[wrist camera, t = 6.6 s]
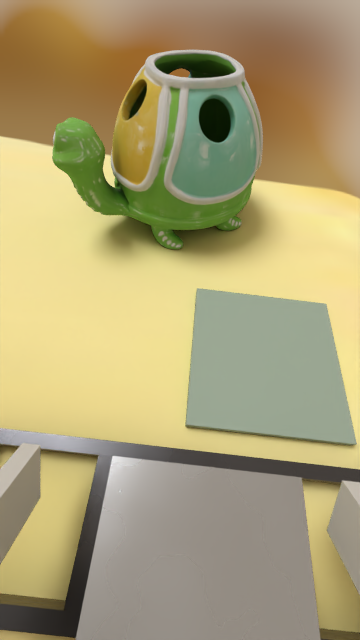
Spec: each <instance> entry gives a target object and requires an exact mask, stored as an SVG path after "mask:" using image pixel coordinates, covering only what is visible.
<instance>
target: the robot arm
mask: <svg viewBox="0 0 360 640" xmlns="http://www.w3.org/2000/svg"><path fill="white" fill-rule="evenodd" d="M39 499H40V445H36V444H27V443H22V444H21V445H20V447H19V448H18V449H17V450H16V451H15V452H14V454H13V455H12V456H11V457H10V458H9V459H8V461H7V462H6V463H5V464H4V465H3V466H2V467H1V469H0V564H1V562H2V561H3V559H4V557H5V556H6V554H7V552H8V551H9V549H10V547H11V546H12V544H13V542H14V541H15V539H16V537H17V536H18V534H19V532H20V531H21V529H22V527H23V526H24V524H25V522H26V521H27V519H28V517H29V516H30V514H31V512H32V510H33V509H34V507H35V505H36V504H37V502H38V500H39ZM327 532H328V534H329V536H330V538H331V540H332V542H333V544H334V546H335V548H336V550H337V551H338V553H339V555H340V557H341V559H342V561H343V563H344V565H345V567H346V569H347V571H348V573H349V575H350V577H351V579H352V581H353V583H354V585H355V587H356V589H357V591H358V593H359V595H360V482H352V481H343V480H342V483H341V486H340V489H339V493H338V496H337V499H336V502H335V506H334V509H333V512H332V515H331V519H330V522H329V525H328V528H327Z"/></svg>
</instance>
